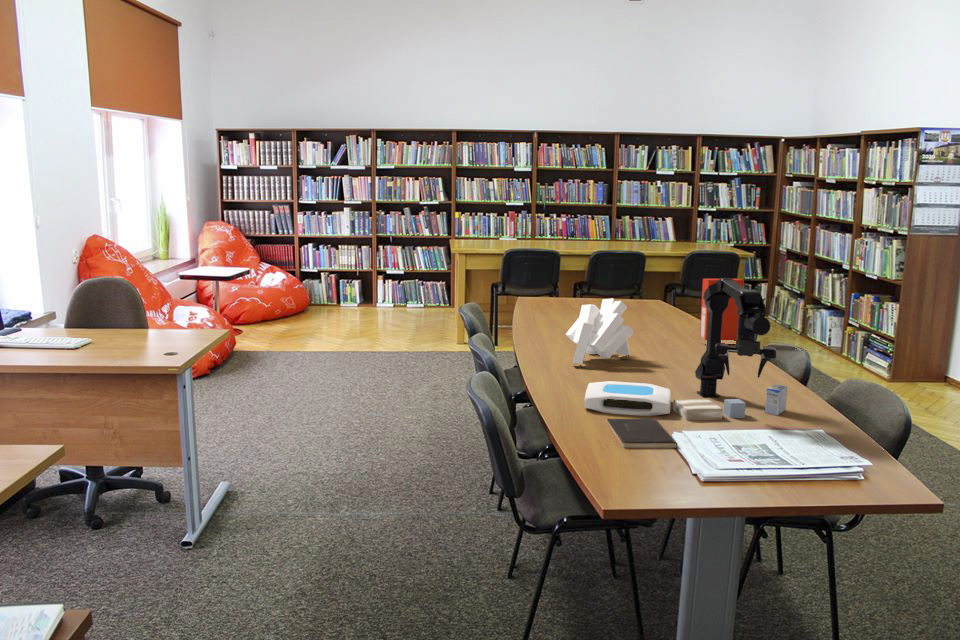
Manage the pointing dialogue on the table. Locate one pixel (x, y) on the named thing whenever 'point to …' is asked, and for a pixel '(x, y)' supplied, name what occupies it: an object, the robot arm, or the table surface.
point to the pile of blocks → (600, 331)
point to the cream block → (697, 409)
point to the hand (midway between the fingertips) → (743, 376)
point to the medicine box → (776, 399)
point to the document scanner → (628, 397)
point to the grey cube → (734, 408)
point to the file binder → (728, 315)
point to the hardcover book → (641, 433)
